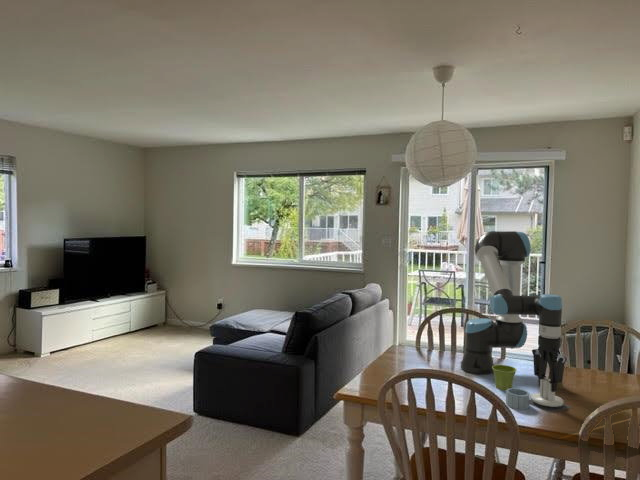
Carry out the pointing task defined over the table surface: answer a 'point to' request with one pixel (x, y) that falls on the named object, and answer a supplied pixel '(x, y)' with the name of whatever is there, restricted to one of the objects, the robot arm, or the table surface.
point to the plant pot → (503, 376)
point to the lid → (546, 397)
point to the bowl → (518, 398)
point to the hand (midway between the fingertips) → (547, 397)
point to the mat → (549, 409)
